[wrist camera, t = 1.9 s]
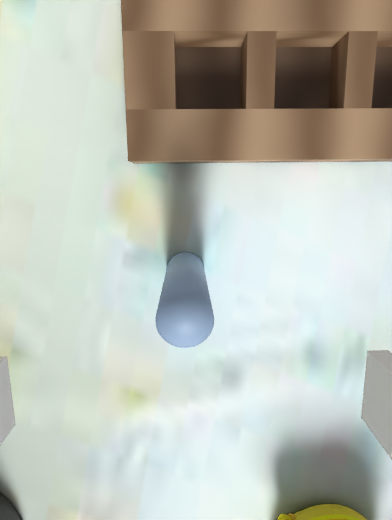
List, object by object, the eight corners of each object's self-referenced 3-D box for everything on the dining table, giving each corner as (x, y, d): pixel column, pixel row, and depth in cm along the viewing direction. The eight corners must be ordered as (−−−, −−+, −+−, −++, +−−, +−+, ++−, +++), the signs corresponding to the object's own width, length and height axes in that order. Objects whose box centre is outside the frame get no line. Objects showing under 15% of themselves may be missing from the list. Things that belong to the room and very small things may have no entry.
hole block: (134, 163, 30) (128, 160, 27) (127, -3, 28) (119, -29, 24) (448, 160, 31) (480, 158, 27) (469, -2, 28) (507, -27, 25)
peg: (167, 288, 32) (156, 348, 20) (166, 252, 32) (154, 293, 20) (203, 287, 32) (213, 347, 21) (203, 251, 32) (213, 292, 20)
